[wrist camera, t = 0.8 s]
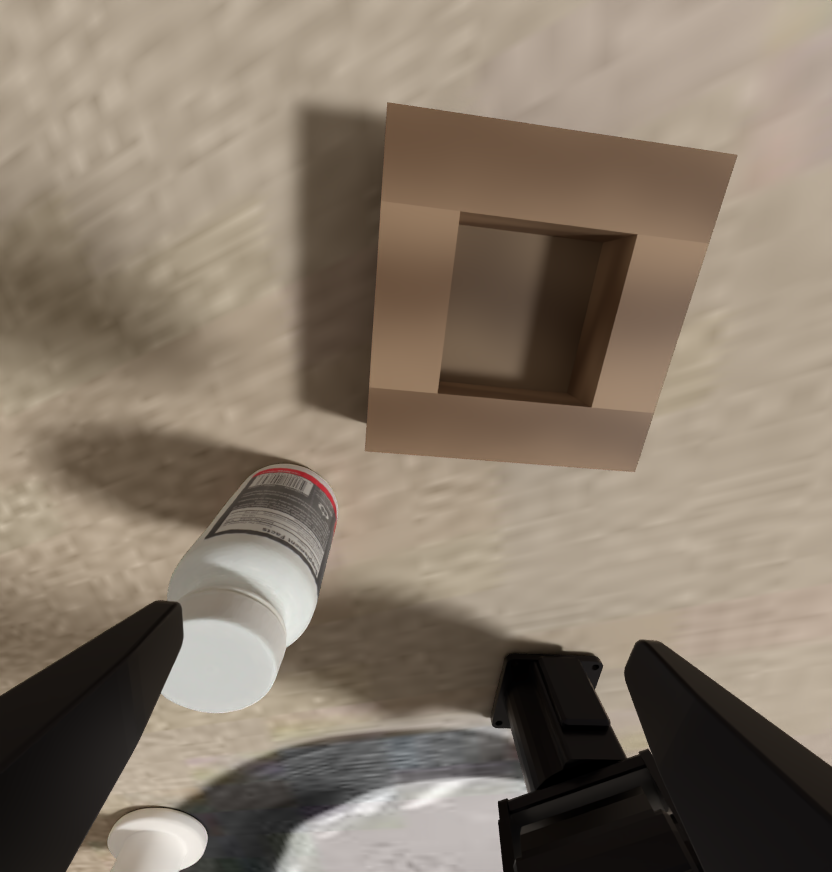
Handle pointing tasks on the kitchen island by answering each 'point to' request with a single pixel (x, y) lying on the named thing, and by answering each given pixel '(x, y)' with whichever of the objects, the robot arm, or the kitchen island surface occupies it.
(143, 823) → the candle
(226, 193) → the kitchen island surface
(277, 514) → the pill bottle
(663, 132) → the kitchen island surface
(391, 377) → the socket block
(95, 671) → the robot arm
